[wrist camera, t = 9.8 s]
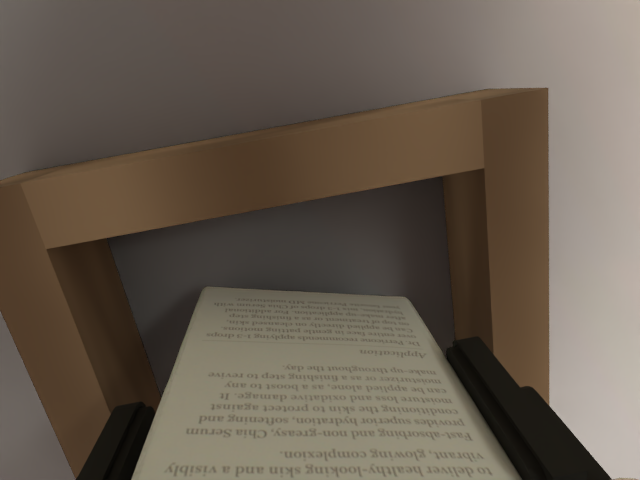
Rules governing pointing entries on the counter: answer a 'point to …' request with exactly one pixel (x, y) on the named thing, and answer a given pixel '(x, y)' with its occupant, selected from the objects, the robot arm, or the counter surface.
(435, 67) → the counter surface
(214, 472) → the skincare box
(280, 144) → the square wooden frame
